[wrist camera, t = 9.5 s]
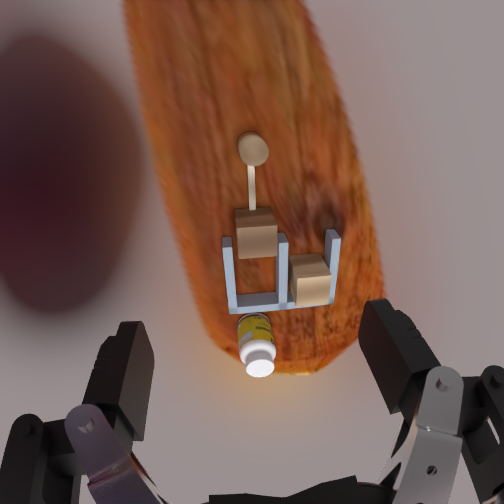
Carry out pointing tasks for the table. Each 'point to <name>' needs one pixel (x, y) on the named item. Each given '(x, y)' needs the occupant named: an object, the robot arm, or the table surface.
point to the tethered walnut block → (254, 205)
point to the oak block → (309, 279)
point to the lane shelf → (282, 295)
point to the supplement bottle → (256, 344)
